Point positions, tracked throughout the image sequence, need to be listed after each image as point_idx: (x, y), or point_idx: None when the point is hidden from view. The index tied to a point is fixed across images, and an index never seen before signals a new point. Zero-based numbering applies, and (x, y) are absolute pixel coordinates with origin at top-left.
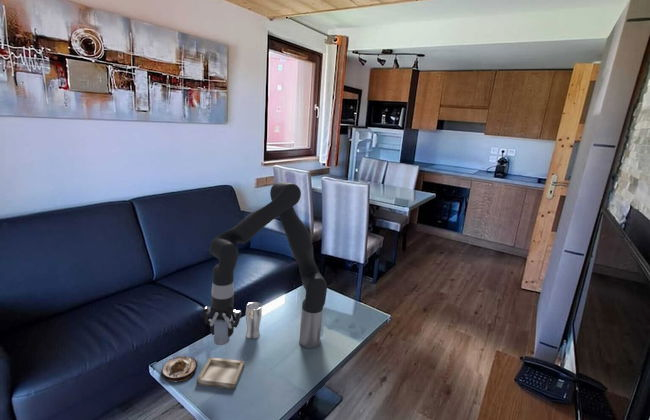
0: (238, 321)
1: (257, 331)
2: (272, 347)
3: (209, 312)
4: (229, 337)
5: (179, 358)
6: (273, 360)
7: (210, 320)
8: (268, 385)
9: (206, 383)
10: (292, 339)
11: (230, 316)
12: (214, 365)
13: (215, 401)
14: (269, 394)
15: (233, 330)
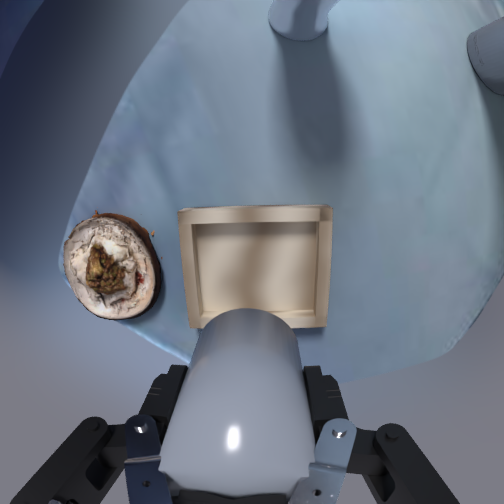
0: (406, 452)
1: (327, 15)
2: (400, 83)
3: (67, 480)
4: (299, 354)
5: (83, 230)
6: (421, 157)
7: (124, 459)
8: (420, 278)
9: None
10: (447, 43)
11: (325, 496)
12: (212, 232)
13: None
14: (423, 310)
15: (340, 392)
